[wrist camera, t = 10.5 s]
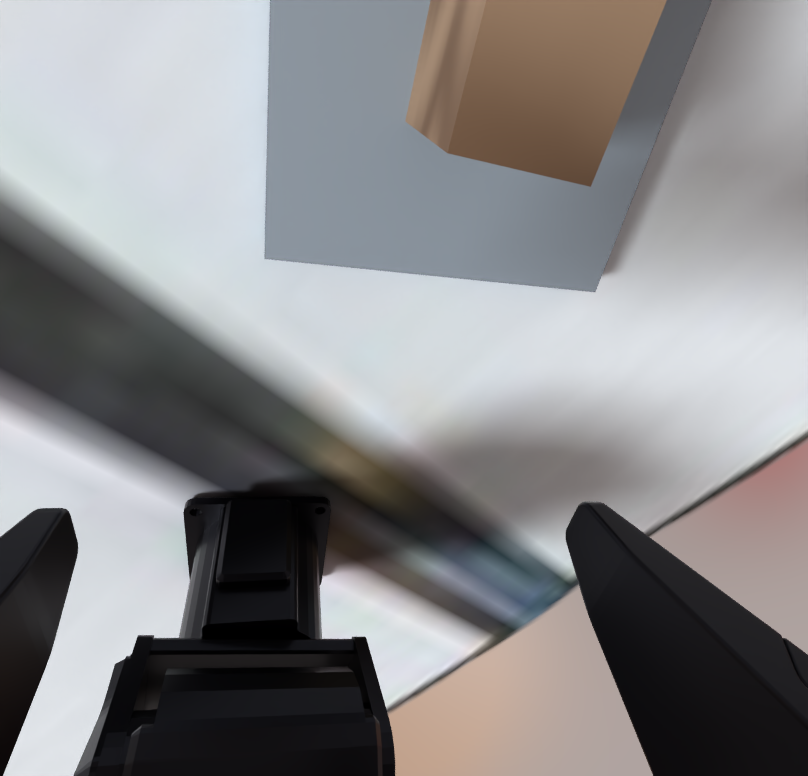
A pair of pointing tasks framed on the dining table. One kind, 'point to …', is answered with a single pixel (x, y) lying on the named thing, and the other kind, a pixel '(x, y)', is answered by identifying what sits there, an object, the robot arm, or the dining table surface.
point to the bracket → (434, 157)
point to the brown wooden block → (529, 80)
